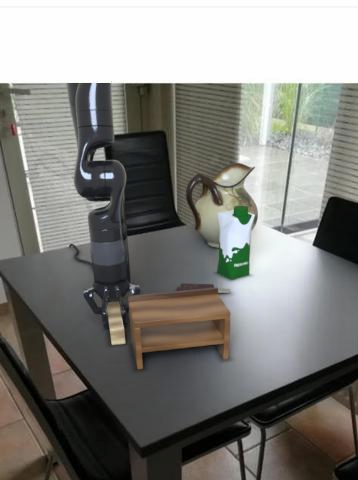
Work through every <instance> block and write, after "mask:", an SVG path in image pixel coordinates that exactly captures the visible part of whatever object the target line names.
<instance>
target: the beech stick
mask: <svg viewBox="0 0 358 480" xmlns="http://www.w3.org/2000/svg"><path fill="white" fill-rule="evenodd" d="M107 312H108V321H109V329H108V330H109V337H110V343H111V346H116V345H124V344H125V345H126V334H125V328H124V325H123V321H122V316H121V308H120V305H119V302H118V301H112V302H108V308H107Z"/></svg>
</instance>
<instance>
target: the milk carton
mask: <svg viewBox="0 0 358 480" xmlns="http://www.w3.org/2000/svg"><path fill="white" fill-rule="evenodd" d="M217 214H218V221H219V227H220V237H219V248H218V262H217V263H218V264H217V270H216V273H217V274H218V275H220V276H222V277H224V278H226V279H228V280H230V281H232V280H237V279H240V278H243V277H247V276H250V256H251V243H252V232H251V229H252V224H253V221H254V217H255V214H252V213H249V212H248V207H246V206H236V207H234V210H231V211H226V212H221V213H217Z"/></svg>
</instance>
